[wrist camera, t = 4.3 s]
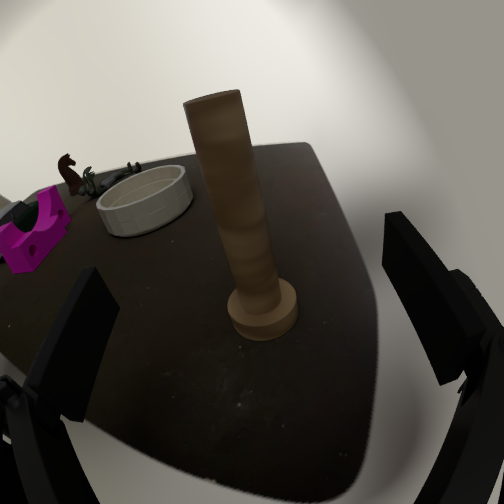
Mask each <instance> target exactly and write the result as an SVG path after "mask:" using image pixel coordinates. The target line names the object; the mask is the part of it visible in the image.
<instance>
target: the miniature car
mask: <svg viewBox="0 0 504 504" xmlns="http://www.w3.org/2000/svg"><path fill="white" fill-rule="evenodd" d="M38 214H39V203H38V201H35V202H31V203H29V204H27V205H26V204H25V203H23V202H22V201H17V202H13V203H10V204H9V205H7V206H6V207H4V208H3V209H2V210H0V226H2V225H5V224H7V223H10V222H13V224H14V225H15V226H16V227H17V228H18V229H19V230H20V231H22V232H24V233H27V232H29V231H30V230H31V229H32V228H33V227H34V226H35V225H36V223H37V219H38ZM1 256H2V254H1V252H0V258H1Z"/></svg>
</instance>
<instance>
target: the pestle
mask: <svg viewBox="0 0 504 504" xmlns="http://www.w3.org/2000/svg"><path fill="white" fill-rule="evenodd" d="M183 107H184V110H185V114H186V118H187V121H188V125H189V129H190V133H191V136H192V140H193V143H194V147H195V151H196V154H197V158H198V161H199V165H200V168H201V172H202V175H203V179H204V182H205V186H206V189H207V193H208V196H209V200H210V203H211V206H212V210H213V213H214V217H215V220H216V223H217V227H218V230H219V233H220V237H221V240H222V243H223V247H224V250H225V253H226V256H227V260H228V263H229V266H230V269H231V273H232V276H233V279H234V282H235V286H236V289H235V290H234V291H233V292H232V294H231V295H230V297H229V300H228V305H227V306H228V312H229V315H230V317H231V320H232V323H233V325H234V328H235V329H236V331H237V332H238V333H239V334H240V335H242V336H243V337H245V338H247V339H250V340H255V341H267V340H272V339H275V338H278V337H280V336H282V335H284V334H285V333H287V332H288V331H289V330H290V329H291V328H292V327H293V326H294V324H295V323H296V320H297V318H298V305H297V297H296V292H295V290H294V288H293V287H292V285H291V284H289V283H288V282H287V281H285V280H283V279H280V278H278V274H277V269H276V264H275V259H274V253H273V248H272V243H271V238H270V233H269V228H268V222H267V217H266V212H265V207H264V202H263V197H262V192H261V188H260V183H259V178H258V173H257V168H256V163H255V158H254V154H253V149H252V144H251V140H250V135H249V130H248V126H247V121H246V116H245V112H244V107H243V103H242V98H241V93H240V90H238V89H236V90H229V91H223V92H218V93H214V94H210V95H206V96H203V97H199V98H195V99H193V100H189V101H187V102H185V103H183Z"/></svg>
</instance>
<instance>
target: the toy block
mask: <svg viewBox="0 0 504 504" xmlns="http://www.w3.org/2000/svg"><path fill="white" fill-rule="evenodd" d="M37 198H38V203H39V214H38V219H37V223H36V225H35V227H34V228H33V230H32V231H31V232H27V233H24V232H22V231H20V230H19V229H18V228H17V227H16V226H15V225H14V224H13V222H10V223H7V224H5V225H2V226H0V252H1V254H2V256H3V257H4V259H5V261H6V262H7V264H8V266H9V267H10V269H11V270H12V272H13V274H16V273H24V272H32V271H34V270H35V269H36V268H37V266H38V265H39V264H40V263H41V262H42V260H43V259H44V258H45V257H46V256H47V254H48V253H49V252H50V251H51V250H52V249H53V247H54V246H55V245H56V244H57V243H58V242H59V241H60V239H61V238H62V237H63V236H64V235H65V234H66V233H67V231H66V229H65V226H66V225H67V224H68V223H69V222H70V221H71V219H70V217H69V215H68V212H67V210H66V208H65V206H64V204H63V202H62V199H61V197H60V195H59V193H58V190H57V188H56V186H55V185H53V186H51V187H48V188H46V189H43V190H42V191H40V192H39V193H38V194H37Z"/></svg>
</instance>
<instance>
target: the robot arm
mask: <svg viewBox="0 0 504 504" xmlns="http://www.w3.org/2000/svg"><path fill="white" fill-rule="evenodd" d="M382 266H383V268H384V270H385V272H386V274H387V276H388V277H389V279H390V281H391V283H392V285H393V287H394V289H395V290H396V292H397V294H398V296H399V298H400V300H401V302H402V304H403V306H404V308H405V310H406V312H407V314H408V316H409V318H410V320H411V322H412V324H413V326H414V328H415V330H416V332H417V334H418V337H419V339H420V341H421V343H422V345H423V348H424V350H425V352H426V354H427V357H428V359H429V361H430V363H431V366H432V368H433V370H434V373H435V375H436V378H437V380H438V382H439V385H440V386H441V385H444V384H446V383H449V382H452V381H454V380H456V379H458V378H459V376H460V375H461V373H462V371H463V370H464V372H465V374H466V376H467V378H466V380H465V381H464V383H463V384H462V385H461V387H460V388H459V390H458V392H457V393H460V392H461V391H462V393H461V396H460V399H459V402H458V405H457V408H456V412H455V414H454V417H453V420H452V422H451V425H450V428H449V430H448V433H447V435H446V438H445V441H444V443H443V445H442V448H441V450H440V452H439V455H438V457H437V459H436V461H435V463H434V466H433V468H432V470H431V472H430V474H429V476H428V478H427V480H426V482H425V484H424V486H423V487H422V489H421V491H420V493H419V495H418V497H417V498H416V500H415V502H414V504H487V503H488V500H489V498H490V495H491V493H492V491H493V488H494V485H495V483H496V480H497V478H498V475H499V472H500V469H501V466H502V463H503V460H504V327H503V326H502V325H501V323H500V322H499V320H498V318H497V317H496V315H495V314H494V312H493V311H492V309H491V308H490V306H489V305H488V303H487V302H486V300H485V299H484V297H482V296H481V293H480V292H479V290H478V289H476V286H475V285H474V283H473V282H472V281H471V279H470V278H469V277H468V276H467V275H466V274H464V273H463V272H461V271H460V270H459V269H455V270H451V271H448V269H447V268H446V267H445V265H444V264H443V263H442V261H441V260H440V259H439V257H438V256H437V255H436V253H435V252H434V251H433V249H432V248H431V247H430V246H429V244H428V243H427V242H426V241H425V239H424V238H423V237H422V236H421V234H420V233H419V232H418V231H417V230H416V228H415V227H414V226H413V225H412V224H411V222H410V221H409V220H408V219H407V218H406V217H405V215H404V214H403V213H402V212H401V211H398V212H392V213H385V225H384V242H383V256H382ZM119 309H120V307H119V305H118V304H117V302H116V301H115V299H114V297H113V296H112V294H111V293H110V291H109V289H108V288H107V286H106V284H105V283H104V281H103V279H102V277H101V276H100V274H99V272H98V270H97V269H96V267H91V268H86V269H83V271H82V272H81V274H80V276H79V278H78V279H77V281H76V283H75V284H74V286H73V288H72V290H71V292H70V293H69V295H68V297H67V299H66V301H65V302H64V304H63V306H62V308H61V310H60V312H59V314H58V316H57V318H56V320H55V322H54V324H53V326H52V328H51V330H50V332H49V334H48V335H47V336H46V337H45V339H44V340H43V341H42V343H41V345H40V347H39V349H38V353H37V354H36V356H35V358H34V359H35V360H33V363H32V365H31V367H30V370H29V372H28V374H27V377H26V379H25V382H24V384H23V386H22V388H21V387H20V386H19V385H18V384H17V383H16V382H15V381H14V380H13V379H12V378H11V377H10V376H8V375H3V376H1V377H0V504H100V503H99V501H98V499H97V497H96V495H95V493H94V491H93V489H92V487H91V486H90V484H89V481H88V479H87V477H86V475H85V473H84V471H83V469H82V467H81V464H80V462H79V460H78V458H77V455H76V453H75V450H74V448H73V446H72V443H71V440H70V438H69V435H68V433H67V430H66V427H65V424H64V423H63V421H62V420H60V415H61V414H62V415H63V416H65V417H66V418H67V419H69V420H70V421H76V422H83V421H84V417H85V413H86V410H87V406H88V402H89V399H90V395H91V392H92V389H93V385H94V382H95V379H96V375H97V372H98V369H99V366H100V363H101V360H102V357H103V354H104V351H105V348H106V345H107V342H108V339H109V336H110V334H111V331H112V328H113V325H114V323H115V320H116V317H117V315H118V312H119ZM3 434H4V435H5V436H7V437H8V438H10V439H11V444H8V443H7V442H5V441H4V440H3ZM498 504H504V473H503V480H502V486H501V491H500V496H499V500H498Z"/></svg>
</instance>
